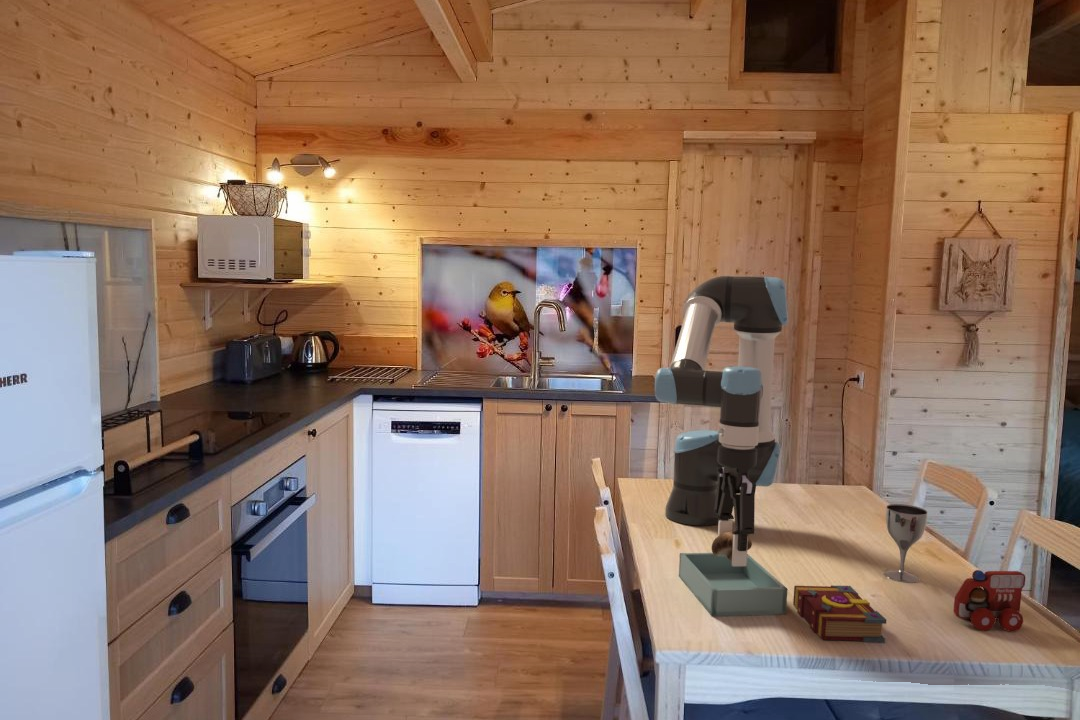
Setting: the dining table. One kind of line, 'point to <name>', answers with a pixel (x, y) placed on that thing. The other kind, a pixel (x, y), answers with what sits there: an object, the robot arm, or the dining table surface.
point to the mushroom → (725, 545)
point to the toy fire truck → (991, 599)
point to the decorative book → (838, 613)
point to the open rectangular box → (732, 586)
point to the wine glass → (904, 535)
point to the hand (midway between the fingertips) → (731, 558)
